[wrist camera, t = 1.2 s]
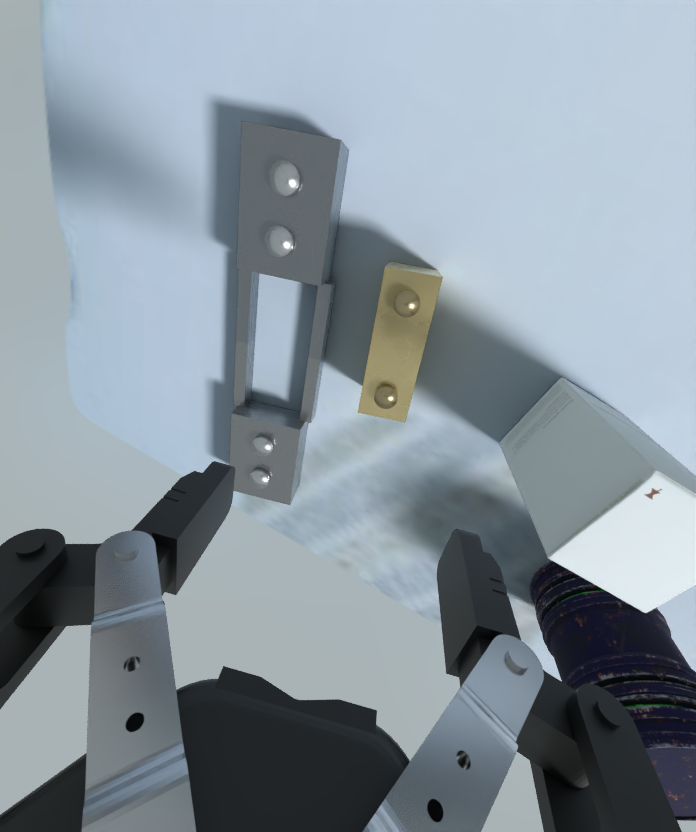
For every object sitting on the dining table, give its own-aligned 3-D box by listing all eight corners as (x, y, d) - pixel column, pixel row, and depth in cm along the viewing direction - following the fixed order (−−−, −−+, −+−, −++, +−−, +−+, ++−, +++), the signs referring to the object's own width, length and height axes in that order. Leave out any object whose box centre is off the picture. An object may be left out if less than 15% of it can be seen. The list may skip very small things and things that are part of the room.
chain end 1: (253, 131, 24) (229, 116, 21) (356, 151, 24) (347, 139, 21) (243, 336, 31) (223, 348, 27) (324, 354, 30) (314, 369, 27)
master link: (389, 261, 27) (384, 267, 22) (437, 270, 26) (443, 278, 21) (365, 387, 31) (356, 416, 26) (406, 395, 31) (405, 426, 26)
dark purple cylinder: (555, 631, 40) (625, 826, 27) (510, 574, 38) (562, 759, 24) (655, 602, 36) (794, 814, 23) (611, 537, 34) (739, 733, 20)
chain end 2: (243, 336, 31) (223, 348, 27) (324, 354, 30) (314, 369, 27) (236, 470, 37) (220, 492, 34) (303, 486, 37) (293, 510, 34)
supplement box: (495, 442, 31) (541, 558, 20) (561, 373, 28) (660, 466, 17) (564, 484, 32) (645, 618, 21) (636, 422, 29) (779, 543, 18)
